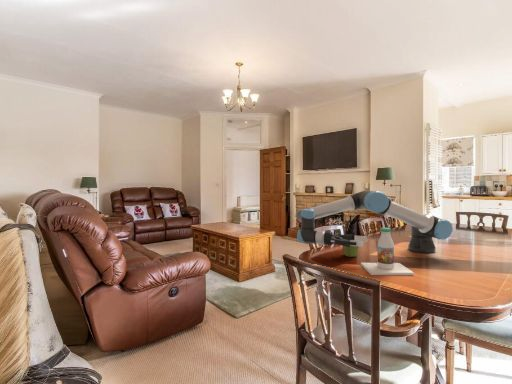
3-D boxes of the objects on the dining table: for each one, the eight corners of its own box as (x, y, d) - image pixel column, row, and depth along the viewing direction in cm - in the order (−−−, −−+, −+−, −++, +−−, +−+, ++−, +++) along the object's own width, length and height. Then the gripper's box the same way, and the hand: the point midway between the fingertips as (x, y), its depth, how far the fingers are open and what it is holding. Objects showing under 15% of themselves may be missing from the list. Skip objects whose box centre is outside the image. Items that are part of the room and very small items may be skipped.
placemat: (399, 265, 150) (399, 262, 150) (414, 275, 134) (414, 272, 134) (360, 264, 151) (360, 262, 151) (371, 274, 135) (371, 272, 135)
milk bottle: (374, 265, 146) (374, 227, 145) (388, 264, 147) (388, 226, 146) (382, 270, 138) (382, 229, 138) (397, 269, 139) (397, 229, 138)
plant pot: (362, 258, 163) (362, 239, 163) (341, 257, 165) (341, 238, 165) (359, 253, 175) (359, 235, 174) (339, 252, 177) (339, 234, 177)
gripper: (330, 240, 168) (368, 243, 158) (318, 249, 146) (362, 254, 136) (330, 227, 167) (368, 230, 157) (318, 235, 145) (362, 238, 135)
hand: (365, 241), depth 147 cm, fingers open, 13 cm apart
